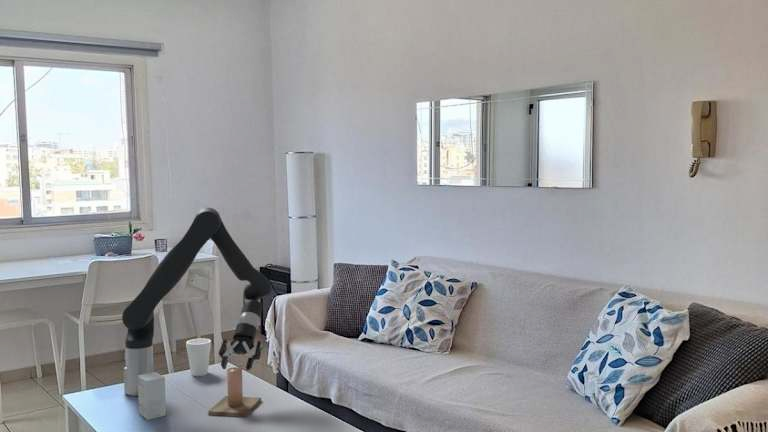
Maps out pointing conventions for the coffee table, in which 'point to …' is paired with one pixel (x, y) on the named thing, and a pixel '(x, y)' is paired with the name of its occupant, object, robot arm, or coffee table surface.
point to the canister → (234, 387)
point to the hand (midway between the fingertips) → (235, 368)
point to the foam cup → (198, 355)
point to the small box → (151, 395)
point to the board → (241, 411)
